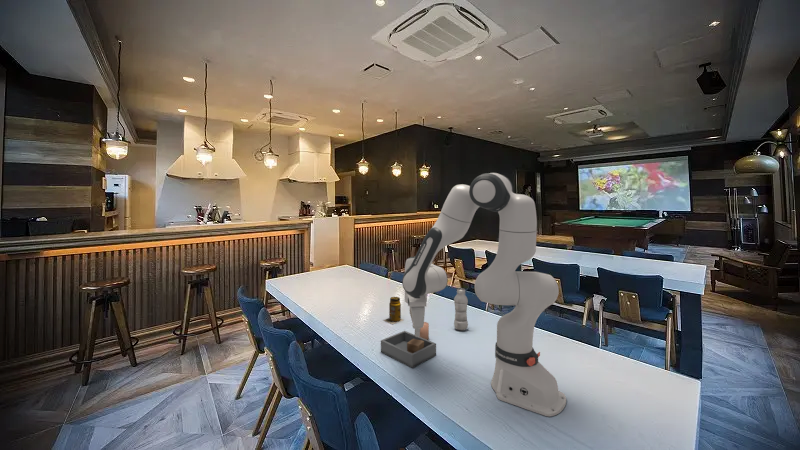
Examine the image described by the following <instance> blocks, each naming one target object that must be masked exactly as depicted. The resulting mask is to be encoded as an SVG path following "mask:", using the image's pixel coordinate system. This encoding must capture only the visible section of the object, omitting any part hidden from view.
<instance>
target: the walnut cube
mask: <svg viewBox="0 0 800 450" xmlns="http://www.w3.org/2000/svg"><path fill="white" fill-rule="evenodd" d="M423 348H424V341H421V340H417V339H412V340H410V341H409V342H408V343H407V351H408V352H410V353H414V352H416V351H418V350H420V349H423Z"/></svg>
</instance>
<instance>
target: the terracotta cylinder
mask: <svg viewBox="0 0 800 450" xmlns="http://www.w3.org/2000/svg"><path fill="white" fill-rule="evenodd" d="M429 327H430V325H429V322H427V321H424V325H423V328H420V336H419V337H421V338H424V339H426V340H429V339H430V338H429V337H430V336H429V335H430V331H429V330H430V328H429ZM429 341H430V340H429Z"/></svg>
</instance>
